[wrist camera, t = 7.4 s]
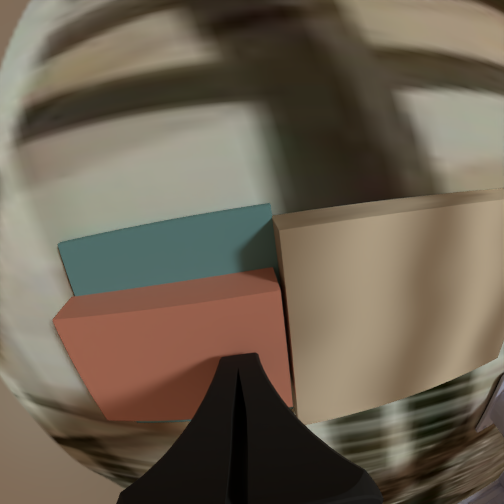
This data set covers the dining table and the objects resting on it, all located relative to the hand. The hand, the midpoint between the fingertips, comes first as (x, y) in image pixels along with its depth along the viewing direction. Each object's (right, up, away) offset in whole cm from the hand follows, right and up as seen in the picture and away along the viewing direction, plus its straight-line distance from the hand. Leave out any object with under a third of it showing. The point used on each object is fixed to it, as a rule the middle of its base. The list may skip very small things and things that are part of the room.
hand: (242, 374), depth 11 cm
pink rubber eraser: (-3, 0, +2) cm, 4 cm away
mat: (-3, +1, +3) cm, 4 cm away
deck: (+8, +2, +3) cm, 9 cm away
